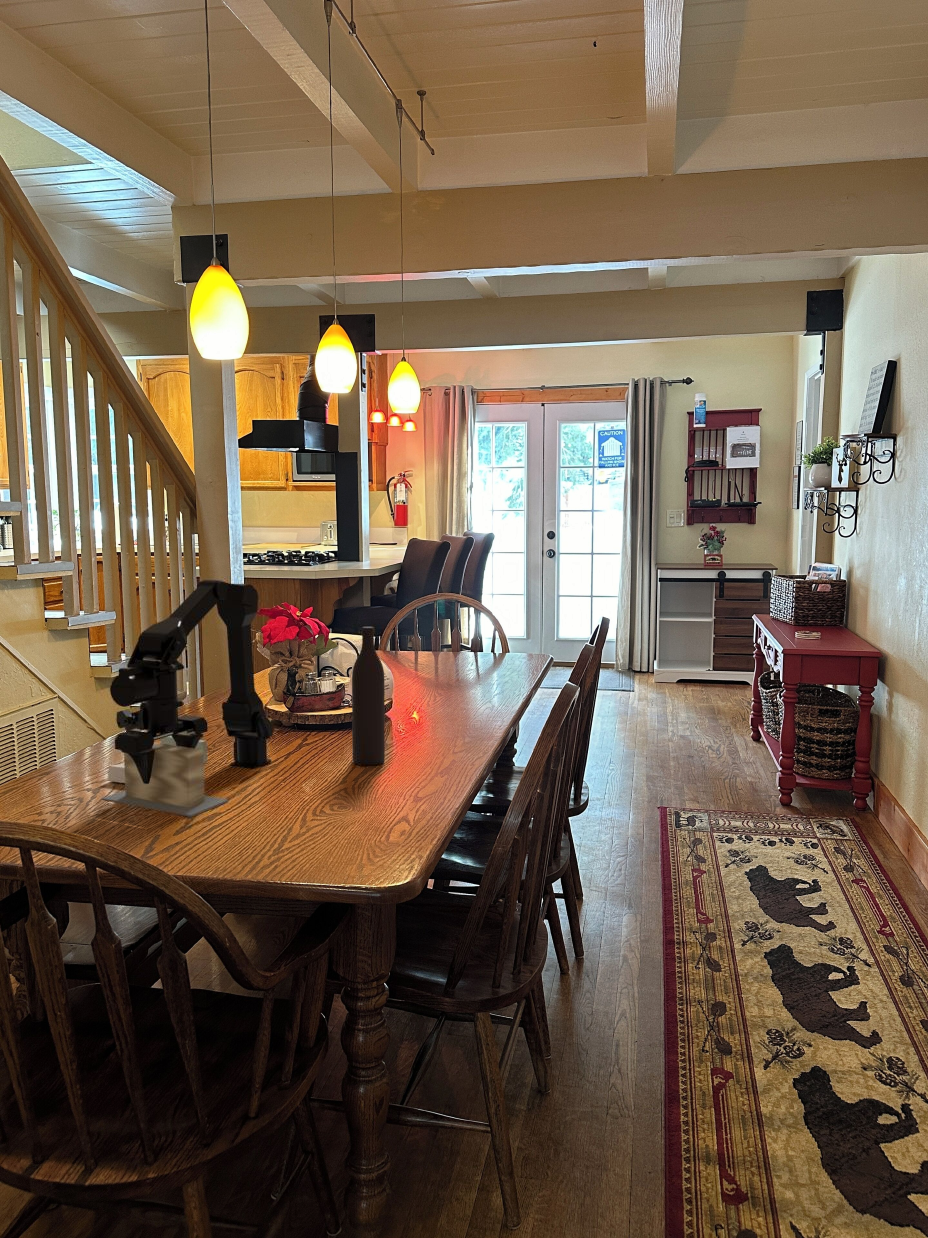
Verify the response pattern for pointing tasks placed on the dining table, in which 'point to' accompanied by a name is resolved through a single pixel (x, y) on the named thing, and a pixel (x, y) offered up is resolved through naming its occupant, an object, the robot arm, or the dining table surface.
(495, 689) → the dining table surface
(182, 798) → the beige brown block
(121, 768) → the offcut lower
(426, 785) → the dining table surface
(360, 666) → the wine bottle
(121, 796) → the mat
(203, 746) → the panel
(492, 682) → the dining table surface
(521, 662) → the dining table surface
